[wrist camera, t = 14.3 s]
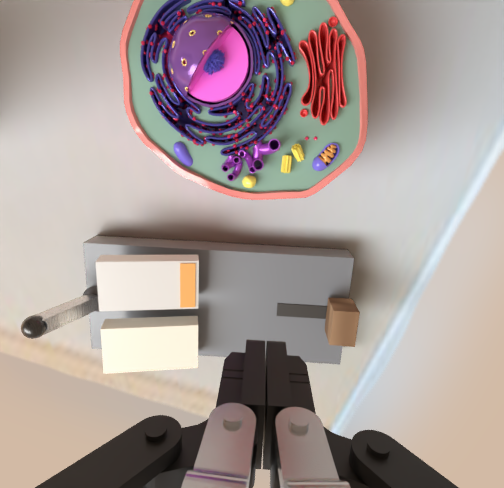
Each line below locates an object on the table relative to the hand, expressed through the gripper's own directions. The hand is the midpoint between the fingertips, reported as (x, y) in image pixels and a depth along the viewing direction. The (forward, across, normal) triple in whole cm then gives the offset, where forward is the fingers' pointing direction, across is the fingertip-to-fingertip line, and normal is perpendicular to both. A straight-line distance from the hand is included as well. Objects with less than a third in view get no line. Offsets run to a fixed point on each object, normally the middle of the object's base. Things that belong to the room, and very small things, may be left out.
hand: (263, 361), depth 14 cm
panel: (+25, +4, +8) cm, 27 cm away
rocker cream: (+19, +10, +12) cm, 25 cm away
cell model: (+25, +2, -12) cm, 28 cm away
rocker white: (+19, +10, +5) cm, 23 cm away
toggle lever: (+21, +17, +8) cm, 29 cm away
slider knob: (+22, -8, +8) cm, 25 cm away
